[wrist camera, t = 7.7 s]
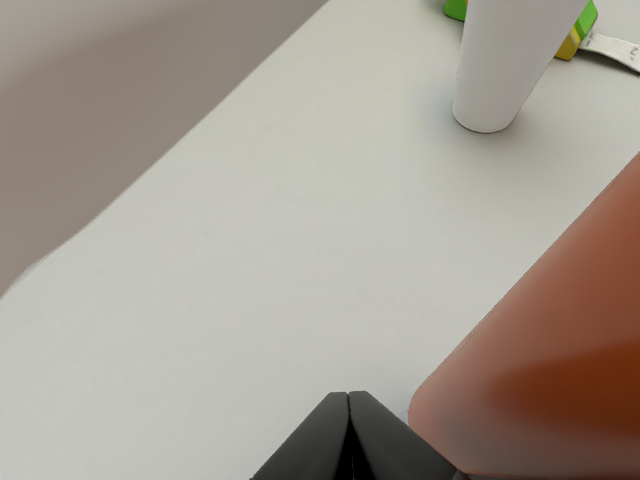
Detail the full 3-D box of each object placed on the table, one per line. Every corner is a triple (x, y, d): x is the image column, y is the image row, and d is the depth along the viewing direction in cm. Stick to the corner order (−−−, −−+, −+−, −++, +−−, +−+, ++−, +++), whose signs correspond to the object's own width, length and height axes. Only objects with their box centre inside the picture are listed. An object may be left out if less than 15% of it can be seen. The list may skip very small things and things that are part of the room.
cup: (508, 161, 21) (667, -138, 11) (417, 122, 23) (475, -168, 12) (547, 99, 23) (713, -205, 12) (459, 67, 25) (541, -224, 14)
